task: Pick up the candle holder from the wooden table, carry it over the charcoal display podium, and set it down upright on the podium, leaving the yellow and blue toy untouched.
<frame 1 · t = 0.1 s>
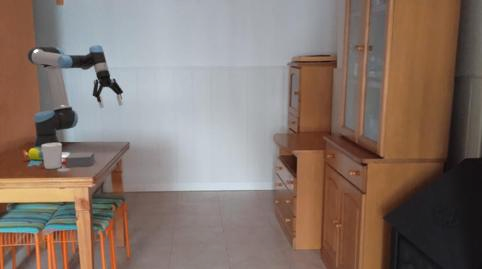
hand: (111, 106, 262), 28 cm above the table, tool tilted 20°, fingers open, 13 cm apart
display podium: (81, 164, 239), on the table
yellow and blue toy: (39, 162, 249), on the table
candle holder: (53, 167, 233), on the table
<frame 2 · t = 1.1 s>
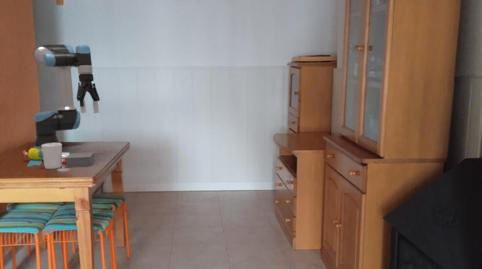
hand: (90, 112, 245), 26 cm above the table, tool pointing down, fingers open, 13 cm apart
nothing on the table moved.
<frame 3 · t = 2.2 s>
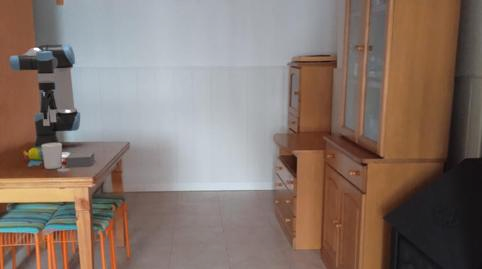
hand: (50, 123, 229), 23 cm above the table, tool pointing down, fingers open, 13 cm apart
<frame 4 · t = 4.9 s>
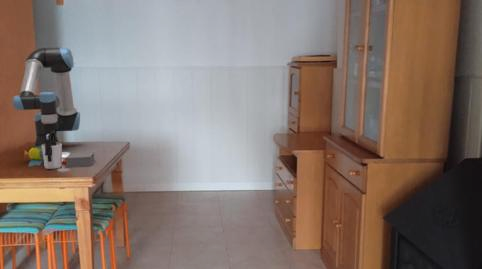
hand: (53, 165, 233), 1 cm above the table, tool pointing down, fingers closed on candle holder, 9 cm apart
candle holder: (53, 167, 233), on the table, touching gripper
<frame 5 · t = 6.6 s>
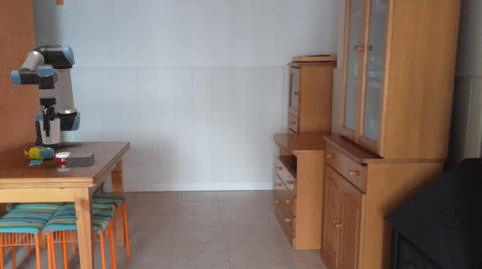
hand: (51, 141, 231), 14 cm above the table, tool pointing down, fingers closed on candle holder, 9 cm apart
yellow and blue toy: (40, 161, 251), on the table
candle holder: (51, 143, 231), point 13 cm above the table, touching gripper
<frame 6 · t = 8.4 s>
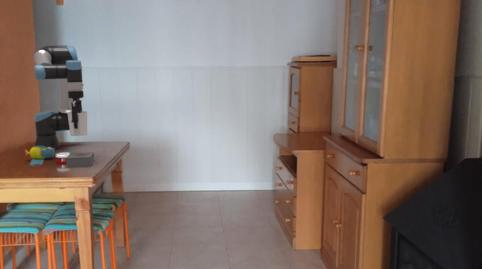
hand: (78, 133, 236), 17 cm above the table, tool pointing down, fingers closed on candle holder, 9 cm apart
candle holder: (78, 135, 236), point 16 cm above the table, touching gripper
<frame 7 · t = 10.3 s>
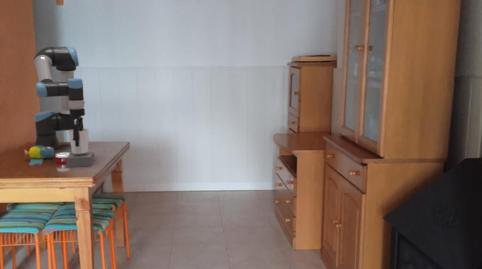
hand: (80, 150, 238), 7 cm above the table, tool pointing down, fingers closed on candle holder, 9 cm apart
candle holder: (80, 152, 238), point 6 cm above the table, touching gripper
when the fingers open (7 cm above the table, at t = 10.3 s): candle holder drops 1 cm, resting on display podium.
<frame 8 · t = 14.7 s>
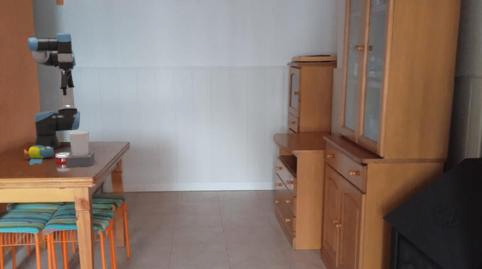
hand: (68, 100, 251), 33 cm above the table, tool pointing down, fingers open, 13 cm apart
yellow and blue toy: (39, 160, 253), on the table
candle holder: (80, 155, 238), point 5 cm above the table, touching display podium
at the end: candle holder inside the target area on the display podium (0.1 cm from its centre), point 4.8 cm above the display podium's base; candle holder tilted 0°; the gripper is holding nothing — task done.
